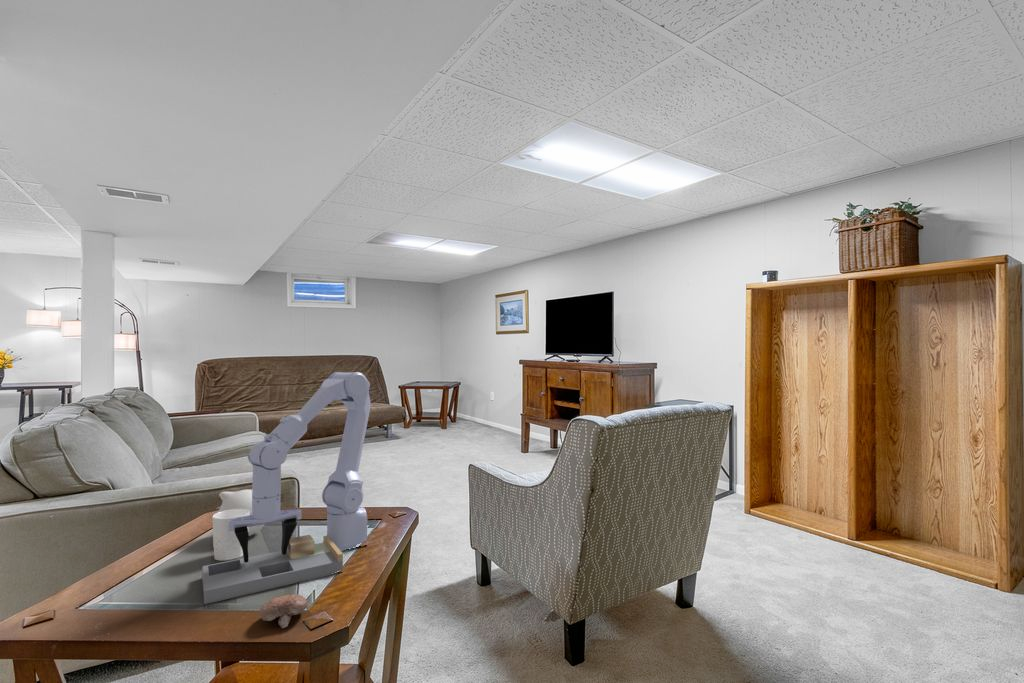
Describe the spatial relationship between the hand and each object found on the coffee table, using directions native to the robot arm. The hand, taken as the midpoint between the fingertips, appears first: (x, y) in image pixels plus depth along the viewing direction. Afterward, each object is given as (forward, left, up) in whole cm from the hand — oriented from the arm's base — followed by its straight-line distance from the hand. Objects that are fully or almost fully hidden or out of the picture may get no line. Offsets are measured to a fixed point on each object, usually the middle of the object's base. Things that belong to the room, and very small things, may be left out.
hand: (265, 557), depth 108 cm
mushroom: (0, +25, -4) cm, 25 cm away
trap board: (-1, +3, -3) cm, 5 cm away
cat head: (+2, -28, -3) cm, 28 cm away
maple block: (-7, 0, -1) cm, 7 cm away
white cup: (+6, -15, -3) cm, 16 cm away
